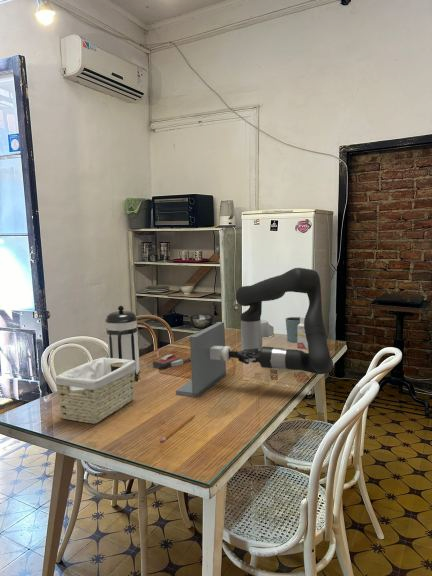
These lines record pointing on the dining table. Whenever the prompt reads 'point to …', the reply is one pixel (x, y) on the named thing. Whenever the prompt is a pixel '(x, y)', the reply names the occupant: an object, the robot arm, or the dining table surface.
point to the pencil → (176, 429)
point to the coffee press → (123, 337)
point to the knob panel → (205, 360)
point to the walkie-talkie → (168, 362)
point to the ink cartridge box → (301, 335)
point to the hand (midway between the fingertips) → (229, 354)
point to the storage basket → (95, 389)
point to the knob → (225, 353)
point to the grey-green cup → (292, 328)
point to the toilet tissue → (266, 329)
